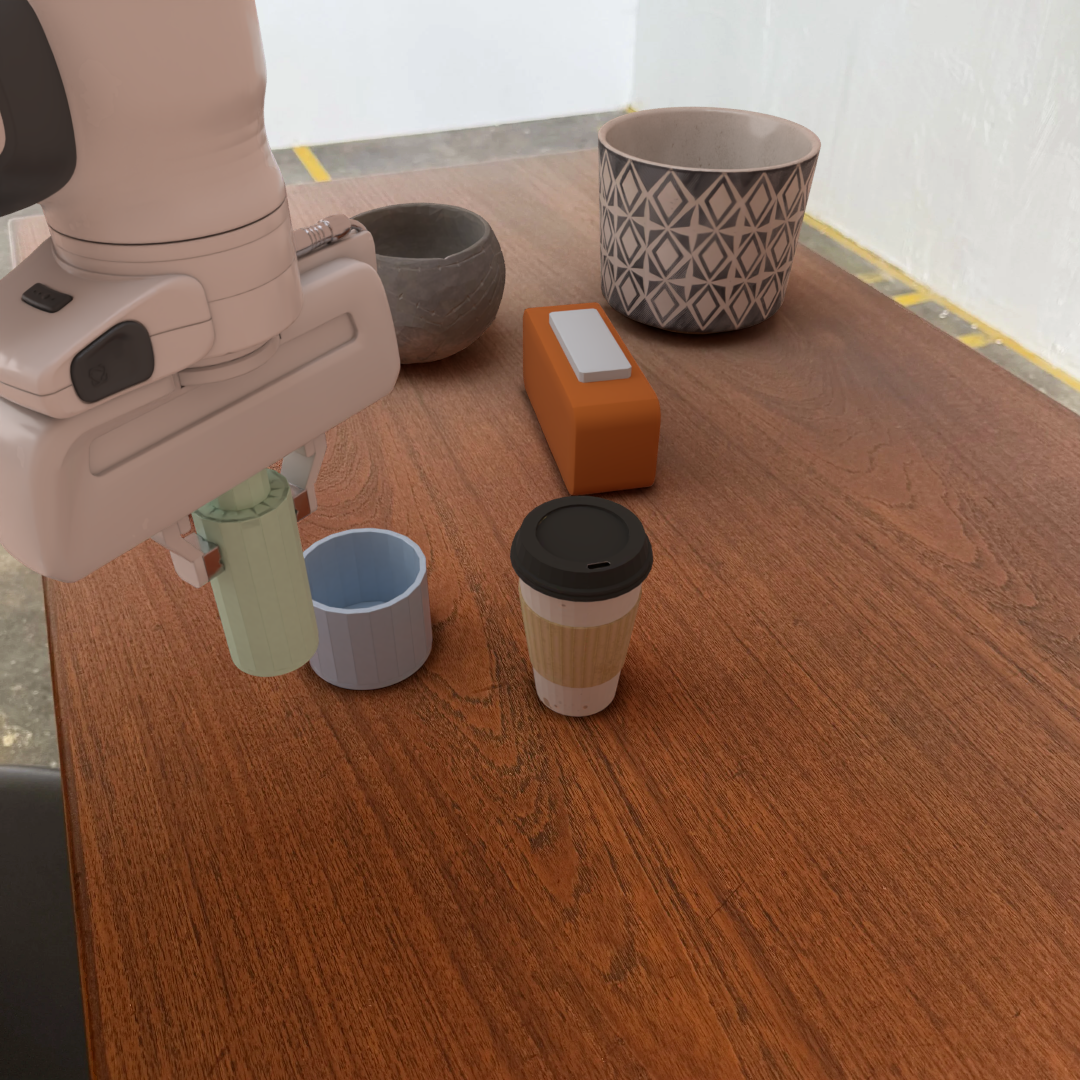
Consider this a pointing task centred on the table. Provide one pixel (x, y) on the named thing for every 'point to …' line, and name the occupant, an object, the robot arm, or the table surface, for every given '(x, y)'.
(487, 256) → the bowl
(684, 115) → the planter
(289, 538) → the bottle
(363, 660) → the tumbler
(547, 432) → the alarm clock
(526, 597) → the coffee cup
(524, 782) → the table surface
